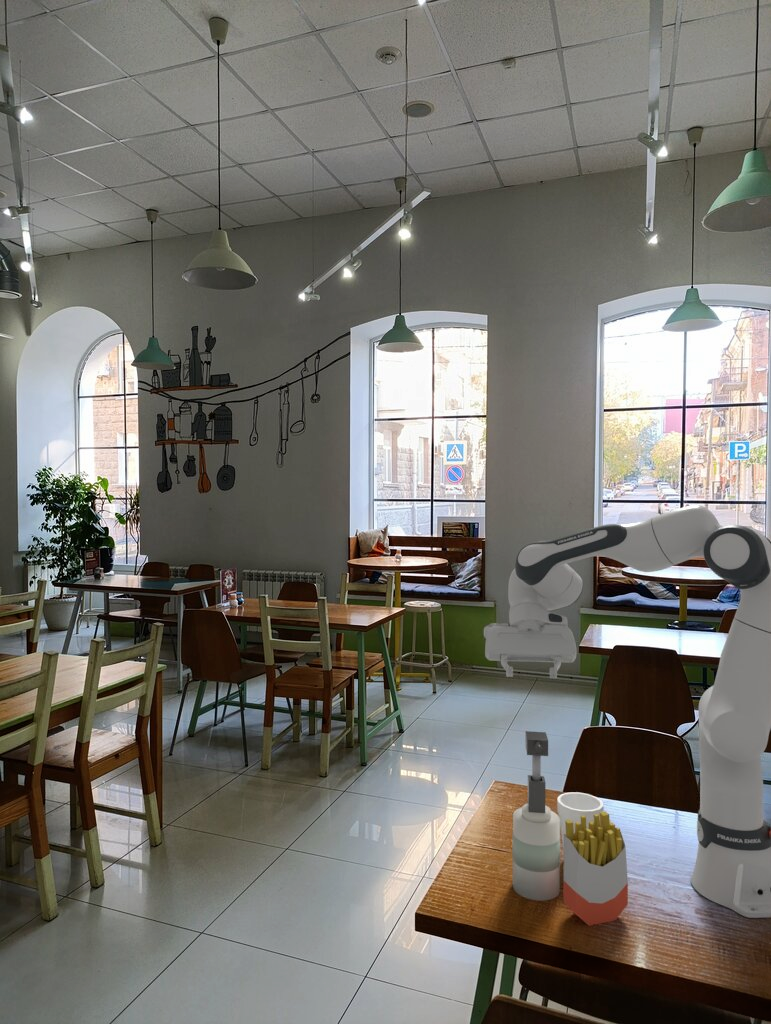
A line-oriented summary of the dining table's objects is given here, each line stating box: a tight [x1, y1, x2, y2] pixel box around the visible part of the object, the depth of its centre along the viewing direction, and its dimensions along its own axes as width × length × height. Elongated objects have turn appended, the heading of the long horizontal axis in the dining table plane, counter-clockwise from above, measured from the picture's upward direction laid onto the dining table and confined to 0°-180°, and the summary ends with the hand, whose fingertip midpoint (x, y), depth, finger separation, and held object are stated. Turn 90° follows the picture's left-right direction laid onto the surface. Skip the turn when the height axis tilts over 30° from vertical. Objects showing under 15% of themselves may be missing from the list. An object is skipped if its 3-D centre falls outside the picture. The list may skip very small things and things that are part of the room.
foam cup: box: [556, 791, 605, 852], centre depth 141 cm, size 10×9×13 cm
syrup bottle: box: [511, 774, 561, 902], centre depth 131 cm, size 9×9×22 cm
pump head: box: [524, 730, 549, 781], centre depth 130 cm, size 4×9×9 cm, turn 172°
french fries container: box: [563, 810, 629, 926], centre depth 122 cm, size 5×11×18 cm, turn 107°
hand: (531, 676), depth 146 cm, fingers open, 8 cm apart
